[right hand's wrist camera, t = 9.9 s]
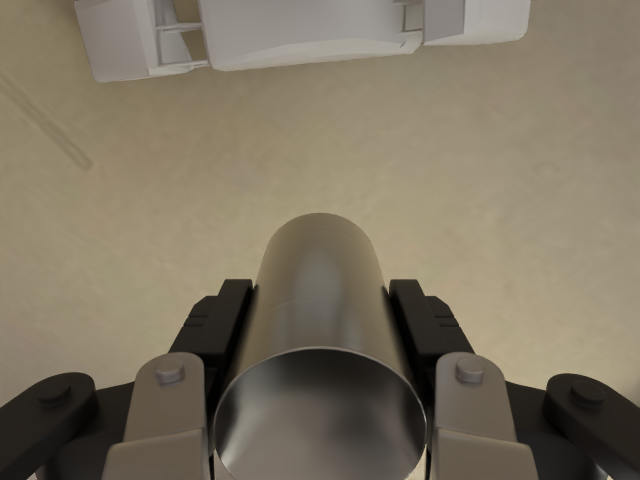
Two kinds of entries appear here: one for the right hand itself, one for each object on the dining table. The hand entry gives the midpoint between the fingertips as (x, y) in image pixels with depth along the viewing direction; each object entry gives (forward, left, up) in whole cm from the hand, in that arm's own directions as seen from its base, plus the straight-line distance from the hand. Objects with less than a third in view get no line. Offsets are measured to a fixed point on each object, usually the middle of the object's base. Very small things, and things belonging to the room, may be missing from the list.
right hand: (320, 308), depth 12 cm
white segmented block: (-4, -8, -13) cm, 15 cm away
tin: (0, 0, -3) cm, 3 cm away
